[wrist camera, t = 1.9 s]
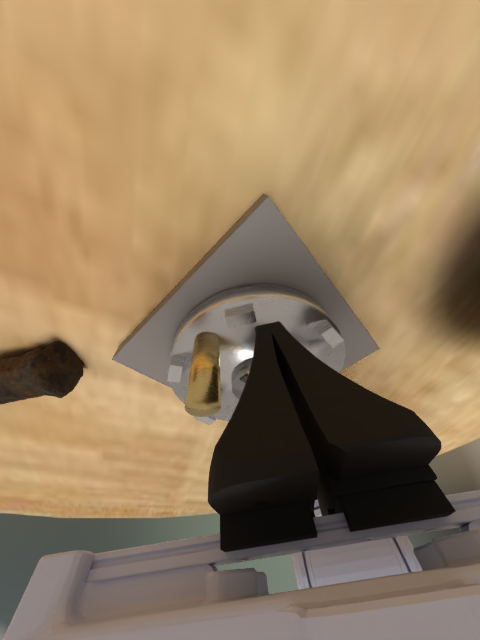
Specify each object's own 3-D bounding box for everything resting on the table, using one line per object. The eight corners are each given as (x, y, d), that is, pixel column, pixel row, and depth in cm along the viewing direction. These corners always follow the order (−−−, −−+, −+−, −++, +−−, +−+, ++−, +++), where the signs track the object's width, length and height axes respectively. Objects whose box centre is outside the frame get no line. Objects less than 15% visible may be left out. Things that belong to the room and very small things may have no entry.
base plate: (369, 337, 19) (381, 350, 18) (245, 411, 25) (247, 425, 24) (263, 194, 12) (269, 196, 10) (119, 346, 17) (110, 361, 16)
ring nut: (359, 351, 18) (419, 427, 12) (248, 416, 22) (257, 492, 17) (265, 240, 12) (305, 295, 6) (138, 360, 16) (99, 452, 11)
